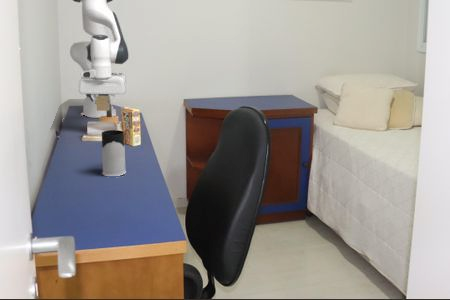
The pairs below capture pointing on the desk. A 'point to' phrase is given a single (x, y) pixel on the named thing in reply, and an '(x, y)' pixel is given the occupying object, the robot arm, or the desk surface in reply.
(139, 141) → the candy box
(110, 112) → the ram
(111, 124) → the press bed
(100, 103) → the housing
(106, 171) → the glass holder
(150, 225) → the desk surface
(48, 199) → the desk surface
